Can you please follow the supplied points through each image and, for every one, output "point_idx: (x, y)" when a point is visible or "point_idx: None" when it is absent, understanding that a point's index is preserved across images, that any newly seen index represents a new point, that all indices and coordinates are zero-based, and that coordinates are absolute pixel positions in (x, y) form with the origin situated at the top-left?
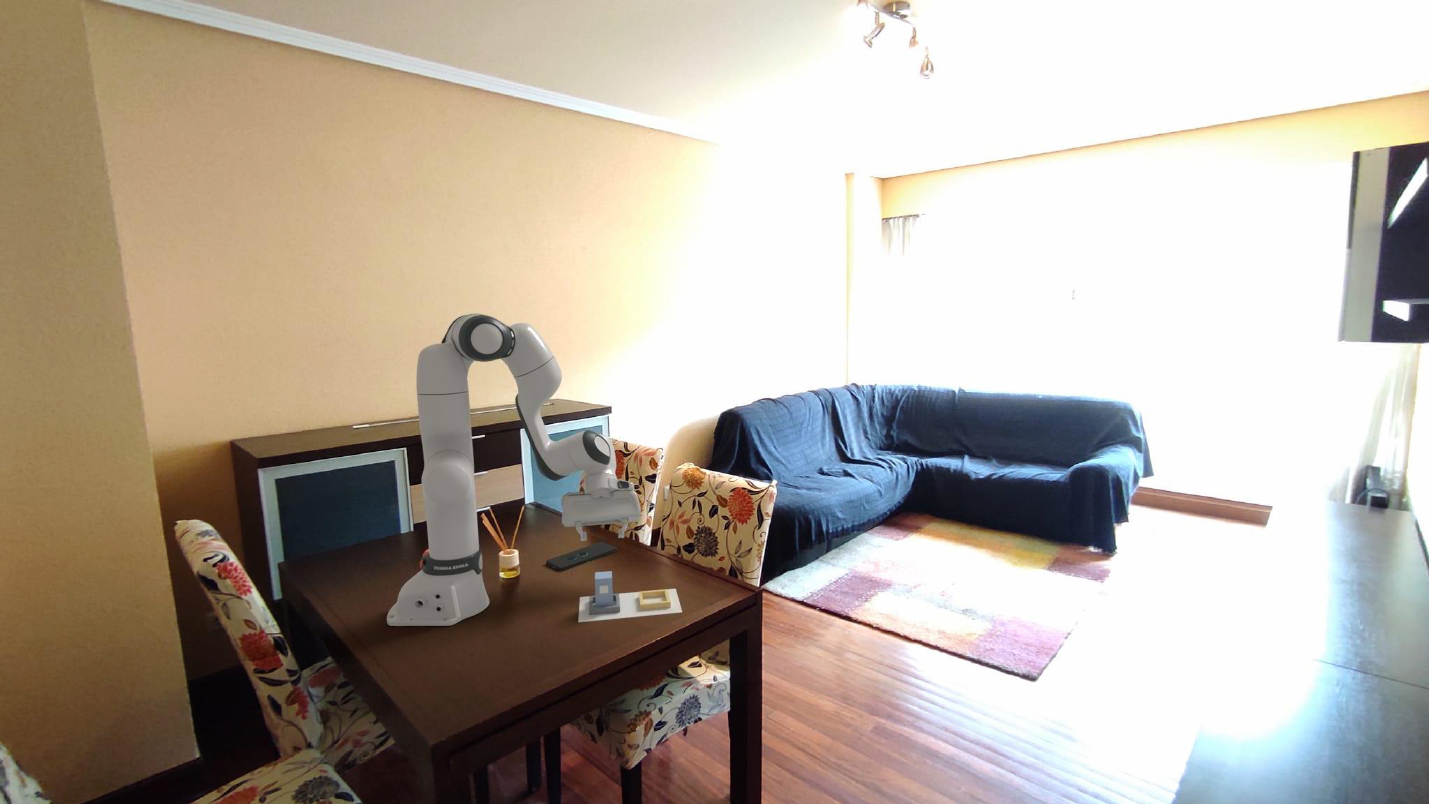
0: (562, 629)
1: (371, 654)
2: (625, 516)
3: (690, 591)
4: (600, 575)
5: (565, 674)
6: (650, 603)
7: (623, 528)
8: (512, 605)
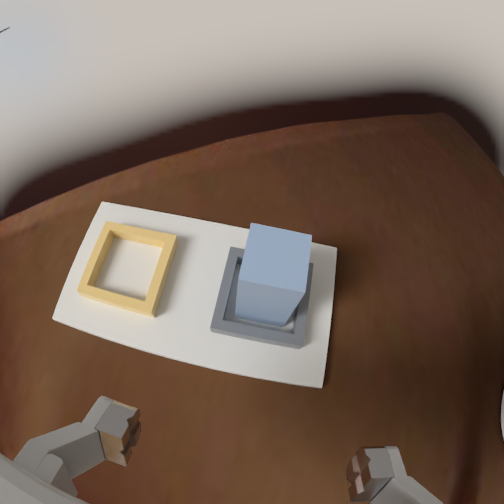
0: (367, 245)
1: None
2: (12, 464)
3: (31, 300)
4: (288, 258)
5: (351, 128)
6: (150, 232)
7: (82, 426)
8: (466, 396)
